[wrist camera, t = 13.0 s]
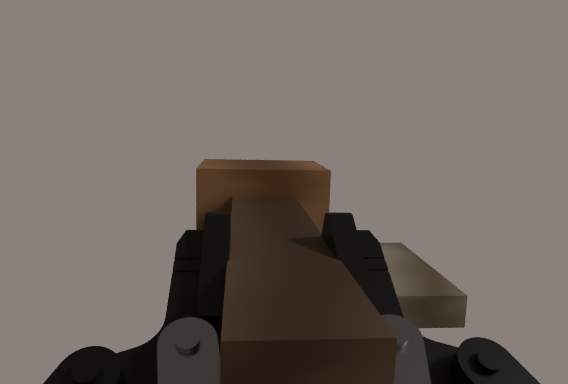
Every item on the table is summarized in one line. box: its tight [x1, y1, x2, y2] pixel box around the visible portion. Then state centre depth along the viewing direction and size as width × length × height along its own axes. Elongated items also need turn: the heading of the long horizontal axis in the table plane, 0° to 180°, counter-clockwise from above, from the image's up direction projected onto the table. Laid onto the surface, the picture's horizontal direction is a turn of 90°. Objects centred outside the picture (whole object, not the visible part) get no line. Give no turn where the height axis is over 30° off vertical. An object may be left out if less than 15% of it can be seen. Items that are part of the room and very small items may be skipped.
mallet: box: [196, 159, 397, 384], centre depth 17 cm, size 6×19×4 cm, turn 5°
